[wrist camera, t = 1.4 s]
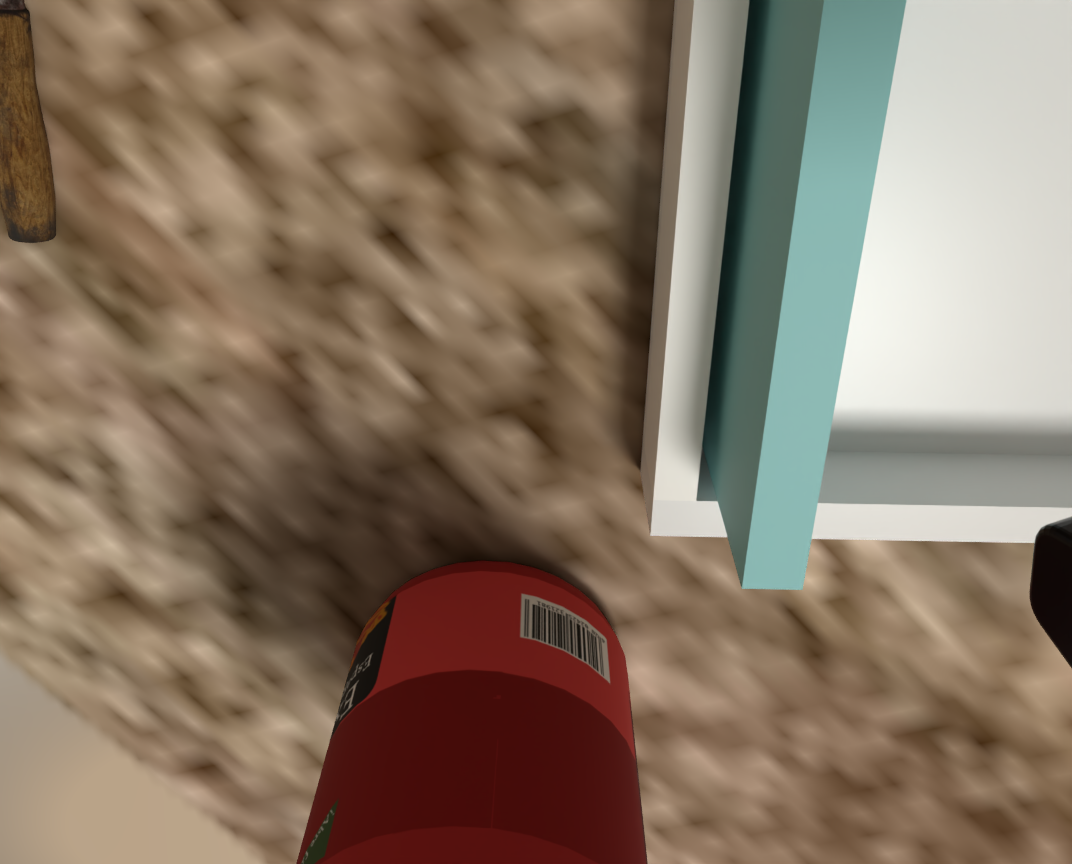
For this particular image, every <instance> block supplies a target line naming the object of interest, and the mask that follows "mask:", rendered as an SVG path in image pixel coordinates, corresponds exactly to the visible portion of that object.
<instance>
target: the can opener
mask: <svg viewBox="0 0 1072 864" xmlns="http://www.w3.org/2000/svg"><path fill="white" fill-rule="evenodd" d="M0 203H1V207H2V211H3V215H4V219H5V223H6V227H7V231H8V235H9V237H10V239H12V240H14V241H18V242H25V243H36V242H44V241H49V240H51V239H53V238H54V237H55V236H56V218H55V192H54V184H53V176H52V168H51V160H50V152H49V146H48V141H47V137H46V132H45V127H44V123H43V118H42V113H41V109H40V104H39V99H38V93H37V88H36V82H35V66H34V54H33V44H32V35H31V25H30V14H29V12H28V10H27V9H26V8H25V4H24V0H0Z"/></svg>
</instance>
